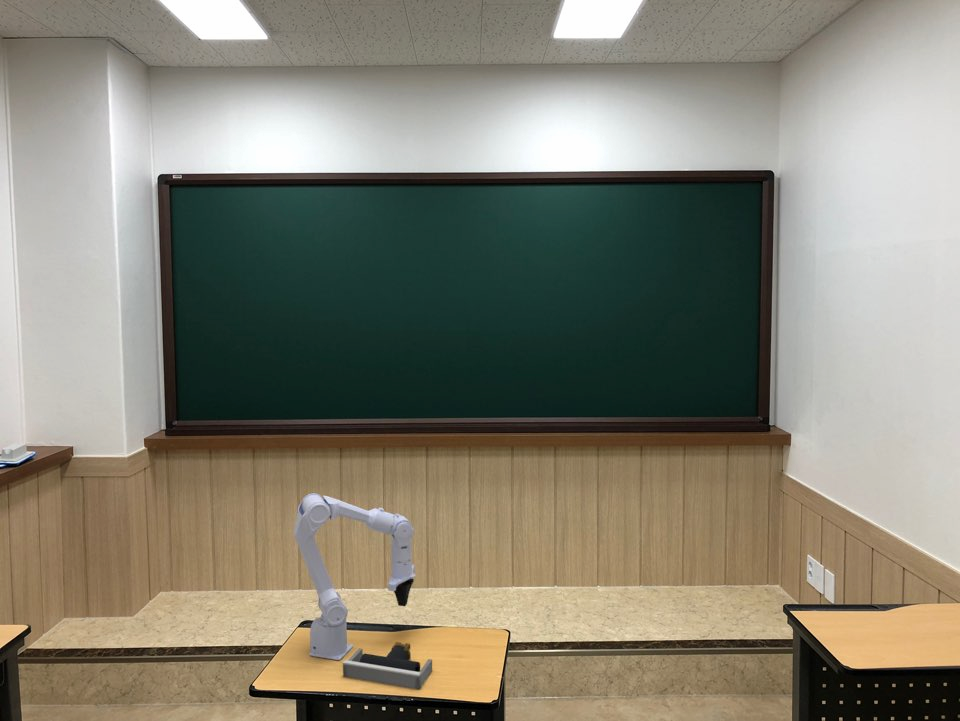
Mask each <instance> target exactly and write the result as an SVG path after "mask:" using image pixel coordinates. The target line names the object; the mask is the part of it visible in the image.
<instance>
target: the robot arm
mask: <svg viewBox="0 0 960 721" xmlns="http://www.w3.org/2000/svg"><path fill="white" fill-rule="evenodd" d="M338 517H342V518H346V519H350V520H354V521H358V522H361V523H365V526H366V528H367V529H370V530H372V531H376V532H378V533H382V534H385V535H390V536H391V537H390V538H391V543H390V545H391V546H390V547H391V548H390V549H391V552H390V553H391V574H390V579H389V582H388V583H387V590H388V591H391V592H393V593H394V596H395V598H396V601H397V602H396V603H397V605H398V606H399V607H406V606H407V604H408V601H409V595H410V591H411V588H412V585H413V583H414V581H415V580H414V579H415V578H416V577H417V575H416V573H415V571H416V565H415V564H413V563H412V560H413V558H412V556H413V553H412V552H413V551H412V537H413V535H414V534H415V528H414V527H413V524H412V522H410V520H409V519H407V517H405V516H403V515H402V514H400V513H396V512H395V513H394V514H393V513H392V512H388V511H385V509H384V508H382V507H378V508H372V509H369V510H367V509H364V508H361V507H359V506H356V505H354V504H351V503H347V502H345V501H342V500H340V499H338V498H334V497H332V496H331V497H330V496H328V495H321V494H319V493H315V492H313V493H309V494H307V495H306V496H304V497H303V499H302V500H301V502H300V504H299V505H298V507H297V515H296V519H295V524H294V529H293V536H294V539H295V541H296V544H297V547H298V548H299V551H300V553H301V556H302V559H303V561H304V564H305V566H306V568H307V570H308V573H309V576H310V578H311V581H312V584H313V586H314V588H315V591H316V594H317V596H318V603H317V604H318V608H319V610H320V612H321V615H320V617H315V619H314V620H312V623H311V626H310V631H309V636H310V637H309V640H310V652H309V655H308V656H310V657H314V658H315V657H316V658H323V659H328V660H333V661H340V660H342V659H343V658H344V657H345V656H346V655H347V654H348V652H350V651H351V649H353V647H354V644H352V643H348V630H347V618H348V608H347V606H346V605H345V604H344V602H343V600H342V597H341V595H340V594H339V593H338V591H336V589H335V587H334V585H333V581H332V578H331V577H330V575H329V572H328V570H327V567H326V564H325V561H324V560H323V556H322V554H321V552H320V549H319V547H318V545H317V543H316V539H315V535H316V534H317V532H318V531H319V530H320V529H321V528H322V527H323V525H325V524H326V523H327V522H328V521H329V519H330V520H331V521H334V520H335V519H337V518H338Z"/></svg>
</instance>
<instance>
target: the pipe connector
mask: <svg viewBox="0 0 960 721" xmlns="http://www.w3.org/2000/svg"><path fill="white" fill-rule="evenodd" d="M411 659H412V658H411V644H410V643H407V642H406V643H405V644H404V643H402V642H400V641H396V642H395V643H394V644H393V645H392V647H391V650H390V651H389V653H388V654H387V655H386V656H382V655H379V654H371V653H363V655H362V657H361V659H360V663H366V664H373V665H379V666H385V667H391V668H397V669H403V670H409V671H416V672H420V670H421V663H420V662H419V661H415V660H411Z"/></svg>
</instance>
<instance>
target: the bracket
mask: <svg viewBox="0 0 960 721" xmlns="http://www.w3.org/2000/svg"><path fill="white" fill-rule="evenodd" d="M363 652H364V650H363V648H360V647H359V648H357V650H356V651H355V652H354V653H353V654H352V655H351V657H349V658H348V659H347V660H346V659H344V661H342V677H343V678H347V679H355V680H360V681H366V682H371V683H376V684H377V683H378V684H383V685H389V686H396V687H401V688H407V689H412V690H420V689H421V688H422V686H423V685H424V683H425V682H426V681H427V679H428V678H429V676H430V675H431V673H432V672H433V659H431V658H428V659H427V660H426V661H425V663H424V665H423V666H422V668H420V672H416V671H409V670H403V669H397V668H391V667H385V666H379V665H373V664H366V663H360V659H361V657H362V655H363V654H364V653H363Z"/></svg>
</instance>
